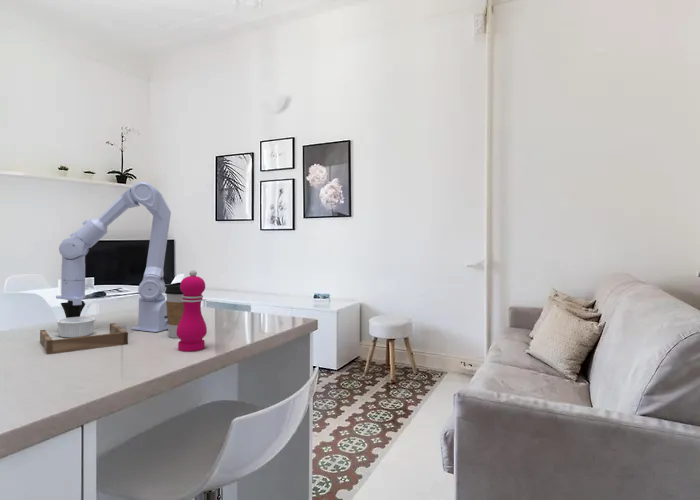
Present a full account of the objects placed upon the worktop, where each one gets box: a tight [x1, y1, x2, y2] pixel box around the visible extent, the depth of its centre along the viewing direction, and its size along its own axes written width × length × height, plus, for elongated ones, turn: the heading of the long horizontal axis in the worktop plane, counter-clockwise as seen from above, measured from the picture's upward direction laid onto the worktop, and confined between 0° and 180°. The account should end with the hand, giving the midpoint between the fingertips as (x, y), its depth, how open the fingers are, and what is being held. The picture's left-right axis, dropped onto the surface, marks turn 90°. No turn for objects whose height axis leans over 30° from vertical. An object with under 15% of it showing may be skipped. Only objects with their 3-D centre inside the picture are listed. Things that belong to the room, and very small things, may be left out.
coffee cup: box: [164, 281, 184, 339], centre depth 119 cm, size 8×8×15 cm
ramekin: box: [56, 316, 96, 338], centre depth 117 cm, size 9×9×4 cm
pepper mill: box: [176, 269, 208, 352], centre depth 106 cm, size 7×7×20 cm
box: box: [39, 322, 129, 355], centre depth 108 cm, size 15×17×3 cm
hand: (72, 326), depth 121 cm, fingers closed
